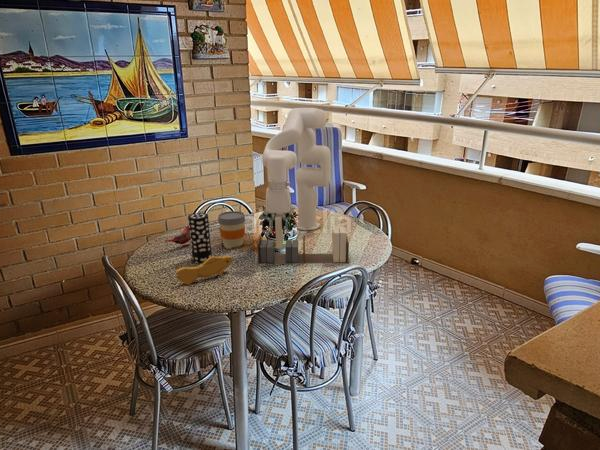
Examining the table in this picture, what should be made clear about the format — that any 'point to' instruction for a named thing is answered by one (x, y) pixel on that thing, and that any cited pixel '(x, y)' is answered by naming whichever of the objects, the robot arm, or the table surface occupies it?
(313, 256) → the book rack
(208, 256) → the white-spotted black cylinder
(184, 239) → the decorative bird figurine
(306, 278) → the table surface
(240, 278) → the table surface
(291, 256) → the grey books
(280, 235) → the cream book
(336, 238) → the cream books
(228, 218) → the reusable coffee cup
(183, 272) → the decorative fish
